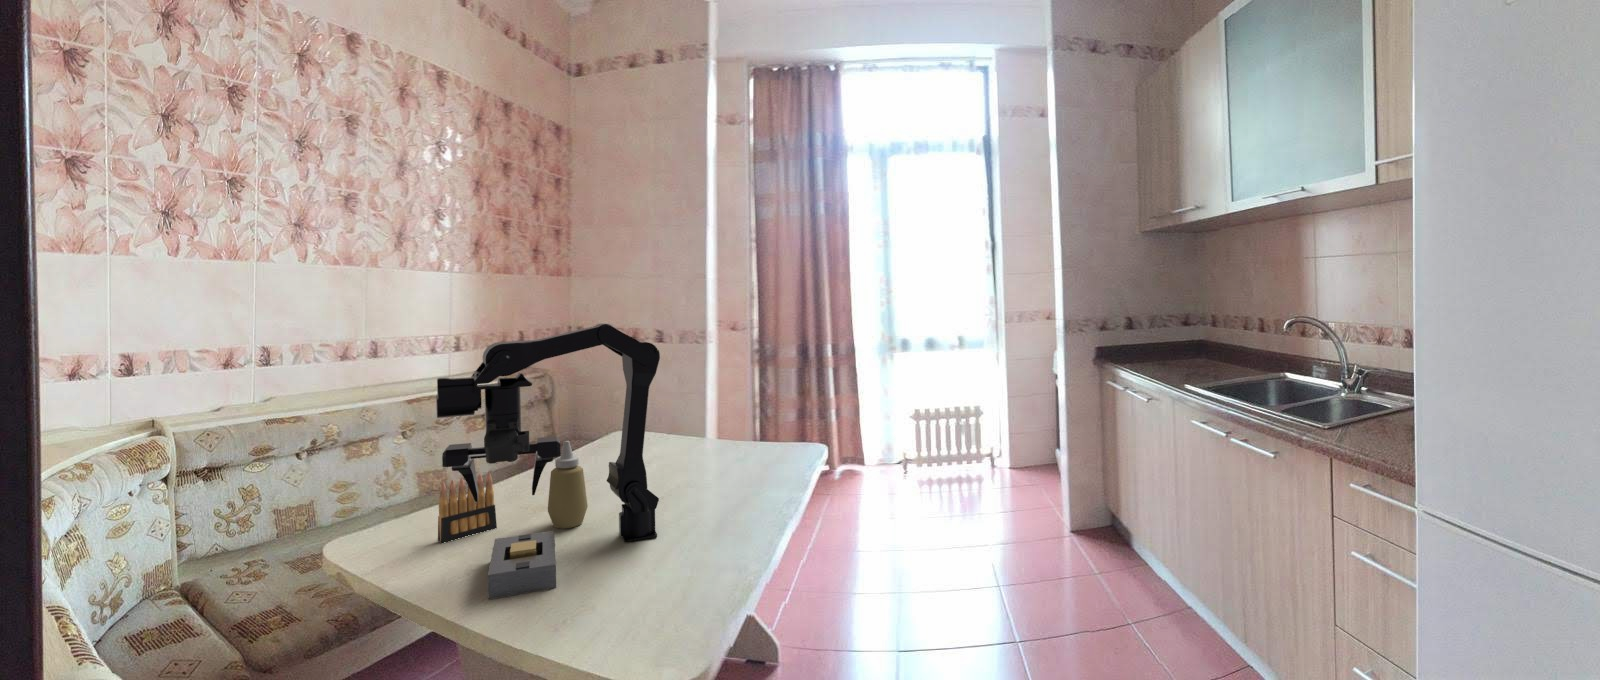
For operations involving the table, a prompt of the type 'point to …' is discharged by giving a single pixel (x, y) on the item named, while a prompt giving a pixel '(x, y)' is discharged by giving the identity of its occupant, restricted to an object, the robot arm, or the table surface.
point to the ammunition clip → (465, 511)
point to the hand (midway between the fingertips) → (505, 497)
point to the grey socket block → (522, 566)
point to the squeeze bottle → (567, 491)
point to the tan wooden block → (523, 549)
